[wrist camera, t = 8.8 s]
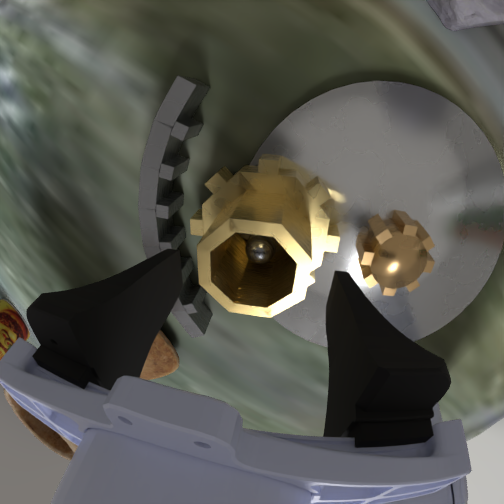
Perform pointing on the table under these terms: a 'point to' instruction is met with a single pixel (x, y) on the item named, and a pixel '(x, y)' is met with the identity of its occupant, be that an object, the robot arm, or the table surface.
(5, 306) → the canned food
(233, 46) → the table surface
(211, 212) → the planet gear
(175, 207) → the carrier
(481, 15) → the stone block
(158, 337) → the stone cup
